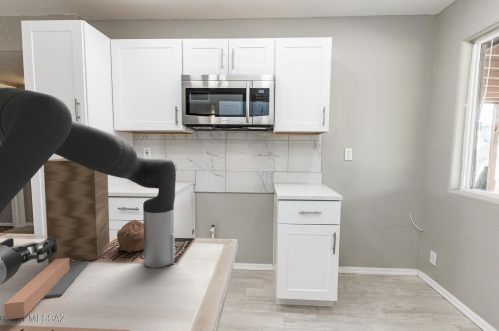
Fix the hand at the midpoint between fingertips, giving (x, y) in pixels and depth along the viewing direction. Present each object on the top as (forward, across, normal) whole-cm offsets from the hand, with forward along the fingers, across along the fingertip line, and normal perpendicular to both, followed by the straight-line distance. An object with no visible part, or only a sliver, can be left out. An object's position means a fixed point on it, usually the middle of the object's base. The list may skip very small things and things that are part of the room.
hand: (32, 240), depth 62 cm
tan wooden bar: (+3, 0, +14) cm, 14 cm away
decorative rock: (+29, -17, +15) cm, 36 cm away
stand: (+29, 0, +15) cm, 32 cm away
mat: (+10, -2, +15) cm, 18 cm away
